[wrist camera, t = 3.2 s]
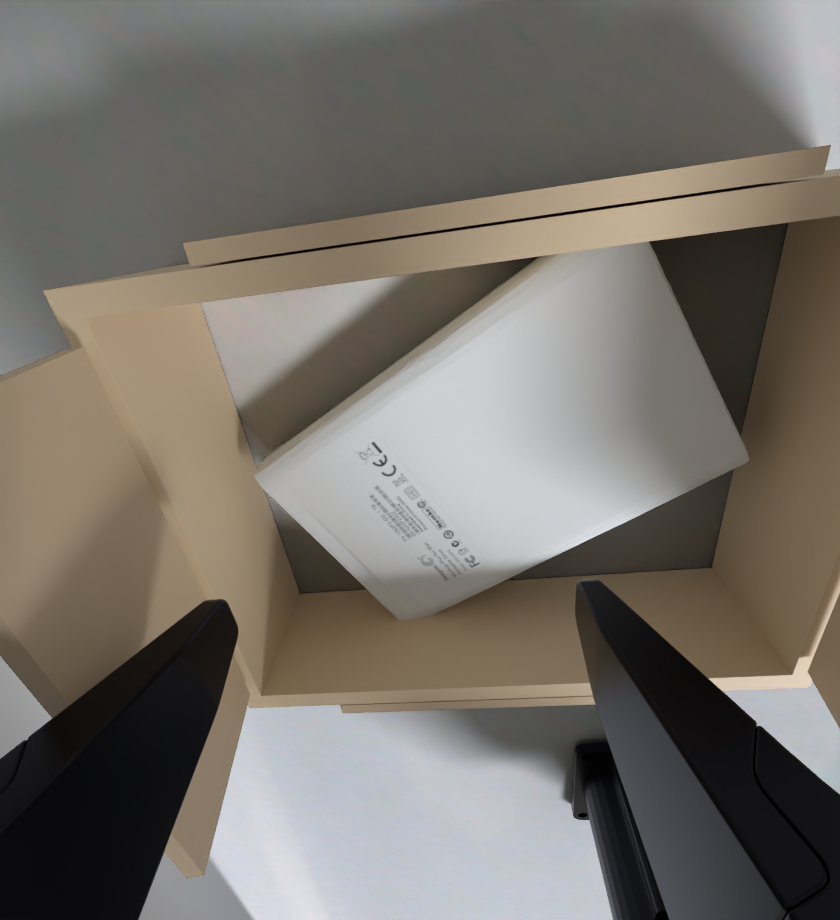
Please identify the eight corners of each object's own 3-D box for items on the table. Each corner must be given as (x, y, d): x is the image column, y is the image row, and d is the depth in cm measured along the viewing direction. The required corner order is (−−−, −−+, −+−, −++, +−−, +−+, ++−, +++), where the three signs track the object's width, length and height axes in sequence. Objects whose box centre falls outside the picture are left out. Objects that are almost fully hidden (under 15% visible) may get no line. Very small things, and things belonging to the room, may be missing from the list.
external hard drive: (724, 440, 14) (411, 601, 18) (608, 201, 11) (265, 454, 15) (755, 465, 13) (408, 634, 17) (632, 199, 10) (247, 478, 14)
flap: (250, 694, 14) (237, 696, 14) (83, 346, 9) (63, 349, 9) (203, 875, 10) (186, 878, 10) (-139, 442, 5) (-175, 446, 5)
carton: (723, 587, 17) (805, 697, 14) (292, 613, 19) (253, 716, 15) (831, 148, 11) (1052, 111, 7) (160, 249, 13) (29, 266, 9)
